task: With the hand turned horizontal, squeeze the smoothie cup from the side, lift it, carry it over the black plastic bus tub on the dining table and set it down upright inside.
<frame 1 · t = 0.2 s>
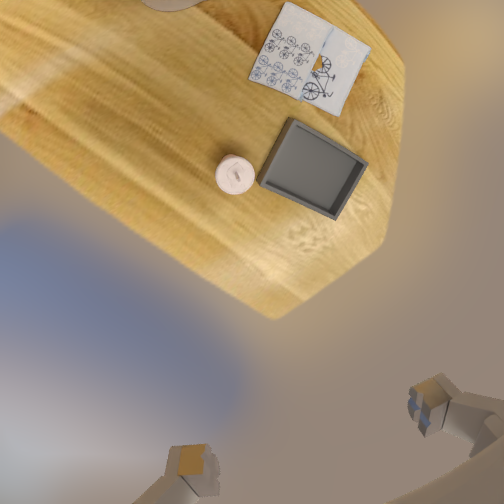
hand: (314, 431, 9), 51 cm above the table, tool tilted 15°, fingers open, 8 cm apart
folded bicycle print cloth: (312, 60, 47), on the table
smoothie: (230, 163, 55), on the table
bus tub: (310, 167, 57), on the table
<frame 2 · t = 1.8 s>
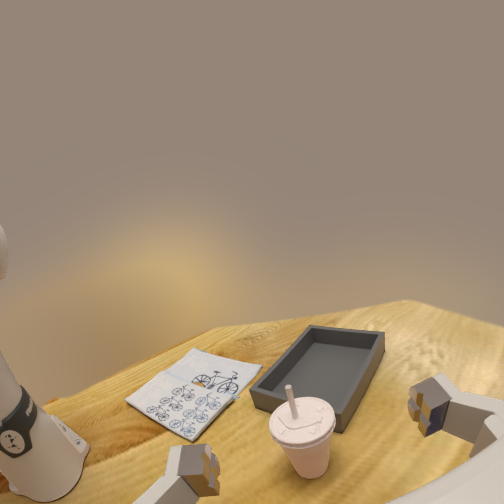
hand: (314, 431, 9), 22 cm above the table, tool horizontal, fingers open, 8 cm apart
folded bicycle print cloth: (195, 391, 47), on the table
smoothie: (312, 467, 27), on the table
bus tub: (325, 380, 41), on the table
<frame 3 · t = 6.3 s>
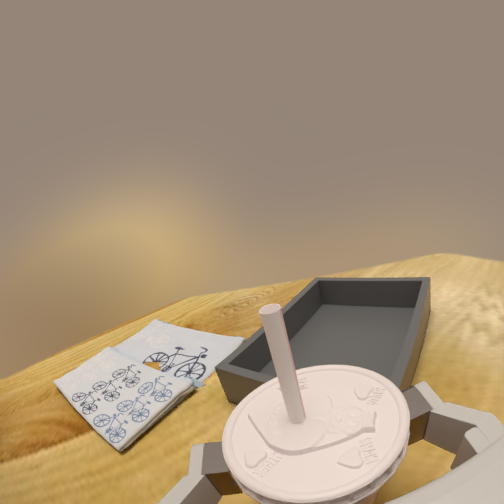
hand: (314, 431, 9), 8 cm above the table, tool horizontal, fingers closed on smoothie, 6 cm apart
folded bicycle print cloth: (146, 375, 31), on the table
bus tub: (345, 356, 25), on the table
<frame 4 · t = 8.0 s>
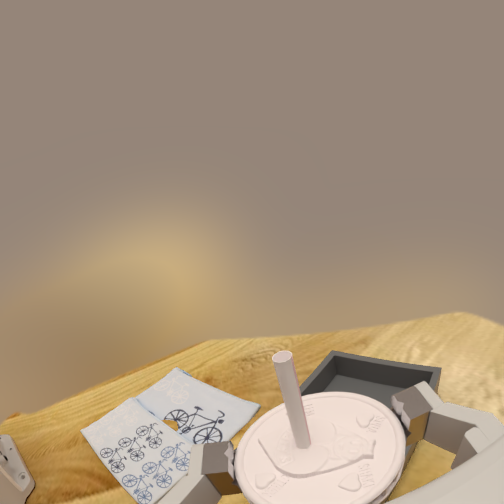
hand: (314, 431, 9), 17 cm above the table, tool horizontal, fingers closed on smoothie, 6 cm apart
folded bicycle print cloth: (168, 431, 32), on the table
bus tub: (349, 439, 24), on the table
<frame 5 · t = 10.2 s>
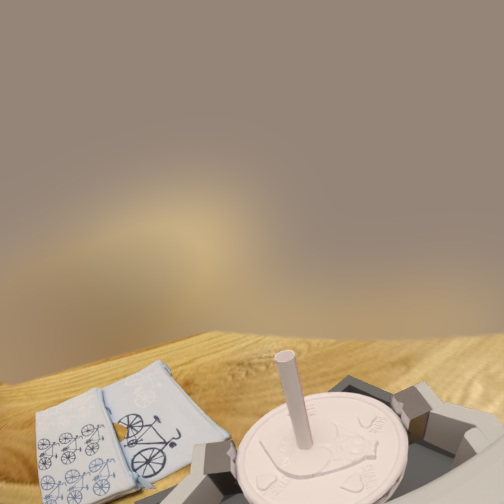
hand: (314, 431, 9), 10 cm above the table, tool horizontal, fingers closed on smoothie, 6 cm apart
folded bicycle print cloth: (117, 438, 23), on the table
when the fingers open (10 cm above the table, at t = 10.5 s): smoothie stays where it is, resting on bus tub.
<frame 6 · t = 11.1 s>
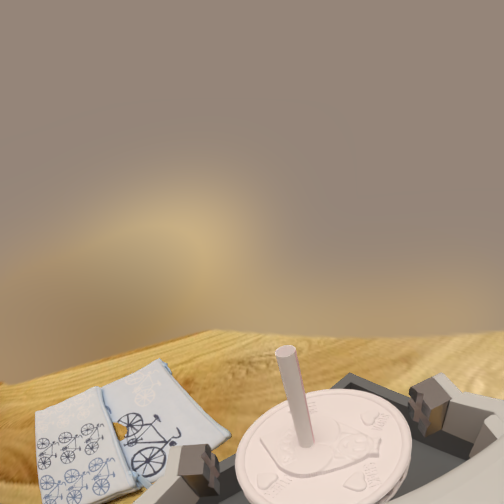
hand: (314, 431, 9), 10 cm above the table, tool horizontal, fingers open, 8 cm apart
folded bicycle print cloth: (117, 437, 23), on the table
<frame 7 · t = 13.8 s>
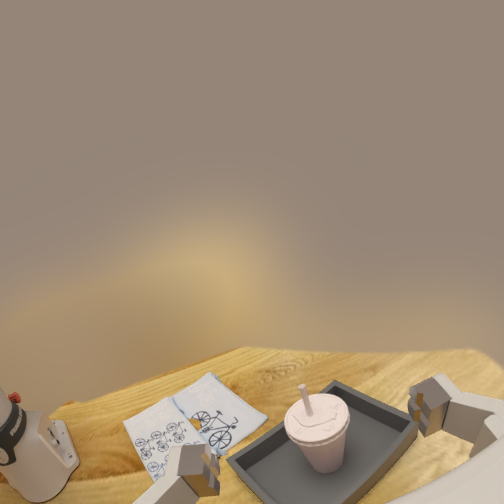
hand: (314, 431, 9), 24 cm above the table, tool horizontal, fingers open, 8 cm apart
folded bicycle print cloth: (192, 429, 40), on the table
smoothie: (328, 461, 27), point 1 cm above the table, touching bus tub
bus tub: (327, 462, 28), on the table
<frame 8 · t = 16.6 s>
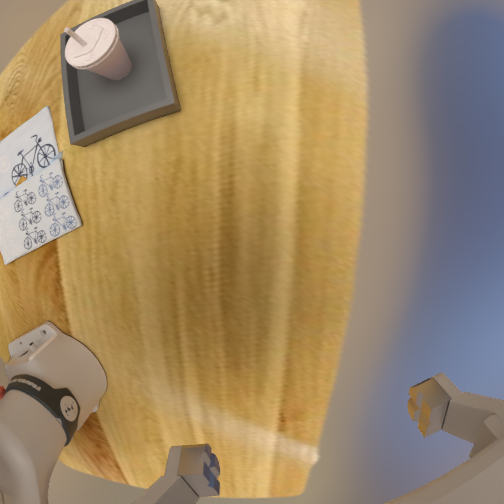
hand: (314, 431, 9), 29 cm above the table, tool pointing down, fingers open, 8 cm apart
folded bicycle print cloth: (25, 185, 34), on the table
smoothie: (119, 68, 30), point 1 cm above the table, touching bus tub
bus tub: (119, 70, 31), on the table
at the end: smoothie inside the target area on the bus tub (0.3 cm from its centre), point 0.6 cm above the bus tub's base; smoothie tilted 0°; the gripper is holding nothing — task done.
